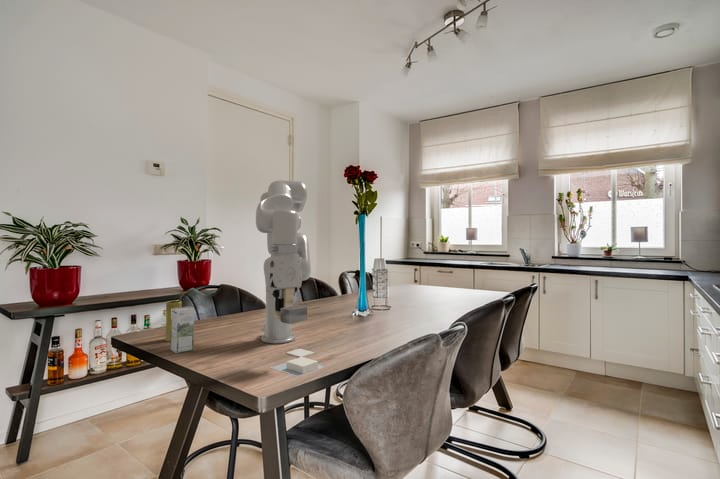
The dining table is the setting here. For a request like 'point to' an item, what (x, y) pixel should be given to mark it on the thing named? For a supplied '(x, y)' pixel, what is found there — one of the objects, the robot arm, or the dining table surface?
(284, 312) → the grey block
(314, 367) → the tile
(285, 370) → the mat
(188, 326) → the syrup box
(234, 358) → the dining table surface
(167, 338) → the vase
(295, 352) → the coaster
